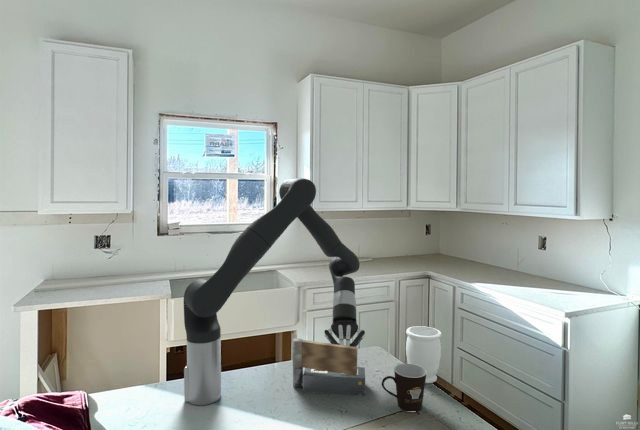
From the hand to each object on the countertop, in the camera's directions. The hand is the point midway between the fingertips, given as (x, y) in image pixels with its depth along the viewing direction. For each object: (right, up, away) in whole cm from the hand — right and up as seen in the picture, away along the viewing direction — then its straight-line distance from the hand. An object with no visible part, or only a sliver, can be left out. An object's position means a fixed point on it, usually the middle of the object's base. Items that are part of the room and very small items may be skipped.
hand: (344, 362), depth 114 cm
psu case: (-3, -9, +3) cm, 10 cm away
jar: (+25, -9, +9) cm, 28 cm away
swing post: (-14, -9, +4) cm, 17 cm away
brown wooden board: (-6, -2, +1) cm, 7 cm away
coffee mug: (+16, -9, -7) cm, 20 cm away
